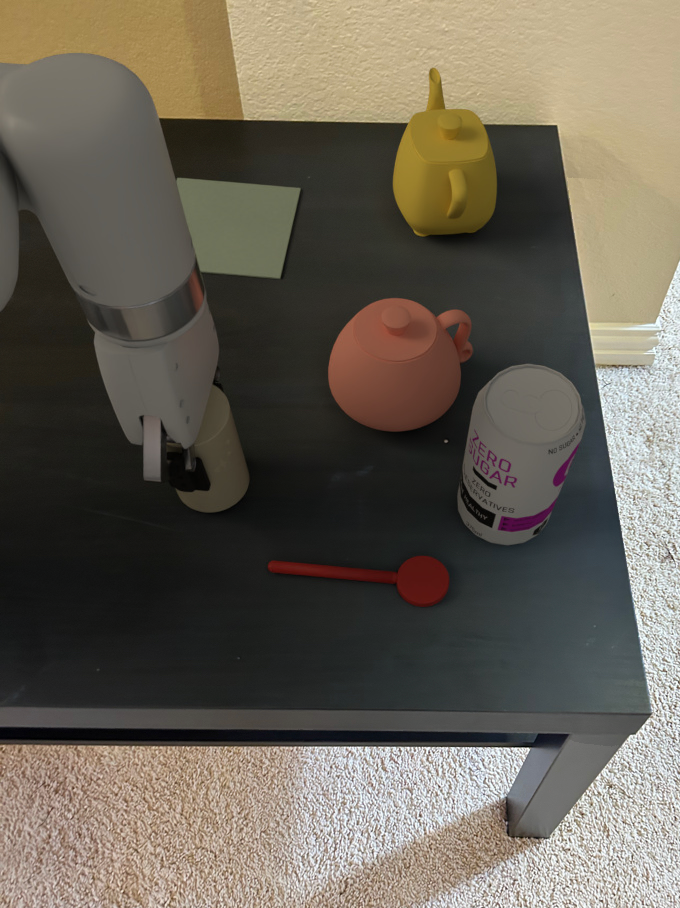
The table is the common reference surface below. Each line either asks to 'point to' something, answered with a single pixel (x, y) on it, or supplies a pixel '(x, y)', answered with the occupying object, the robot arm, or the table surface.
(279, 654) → the table surface
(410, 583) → the spoon
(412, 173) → the teapot
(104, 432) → the table surface
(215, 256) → the mat
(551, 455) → the supplement can
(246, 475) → the beige cylinder
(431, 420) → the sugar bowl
